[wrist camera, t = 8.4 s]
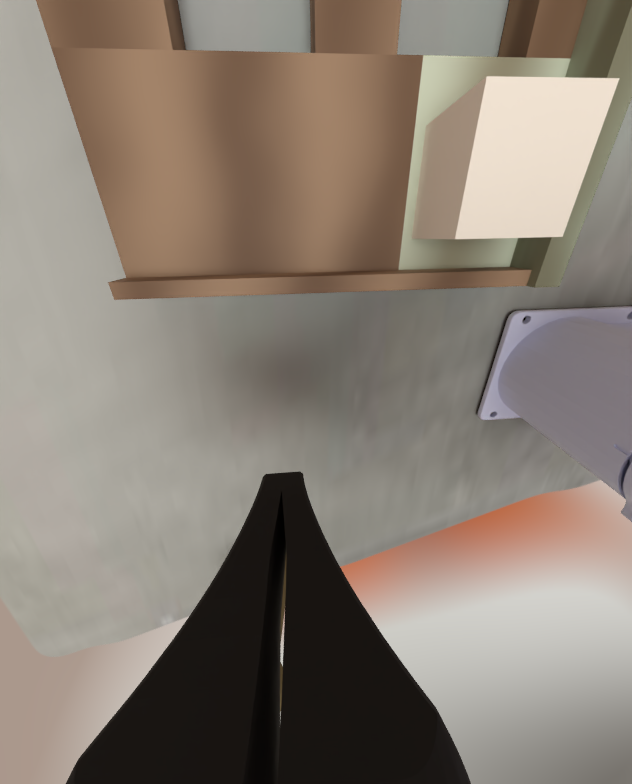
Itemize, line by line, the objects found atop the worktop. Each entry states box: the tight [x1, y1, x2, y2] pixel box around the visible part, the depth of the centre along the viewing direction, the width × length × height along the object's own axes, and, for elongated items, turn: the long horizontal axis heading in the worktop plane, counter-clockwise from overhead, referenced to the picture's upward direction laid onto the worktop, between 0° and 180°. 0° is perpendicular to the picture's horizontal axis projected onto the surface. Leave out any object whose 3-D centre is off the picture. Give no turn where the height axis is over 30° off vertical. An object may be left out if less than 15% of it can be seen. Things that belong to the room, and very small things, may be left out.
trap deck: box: [36, 0, 632, 300], centre depth 11 cm, size 20×14×4 cm
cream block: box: [411, 76, 620, 239], centre depth 11 cm, size 4×4×4 cm
